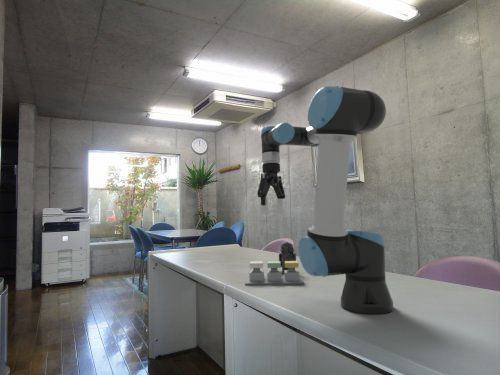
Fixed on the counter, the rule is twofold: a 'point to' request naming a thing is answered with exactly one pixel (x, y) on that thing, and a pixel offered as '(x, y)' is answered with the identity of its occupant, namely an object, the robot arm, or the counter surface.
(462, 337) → the counter surface
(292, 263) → the button ochre
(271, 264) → the button green
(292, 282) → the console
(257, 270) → the button white
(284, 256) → the toy
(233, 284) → the counter surface
